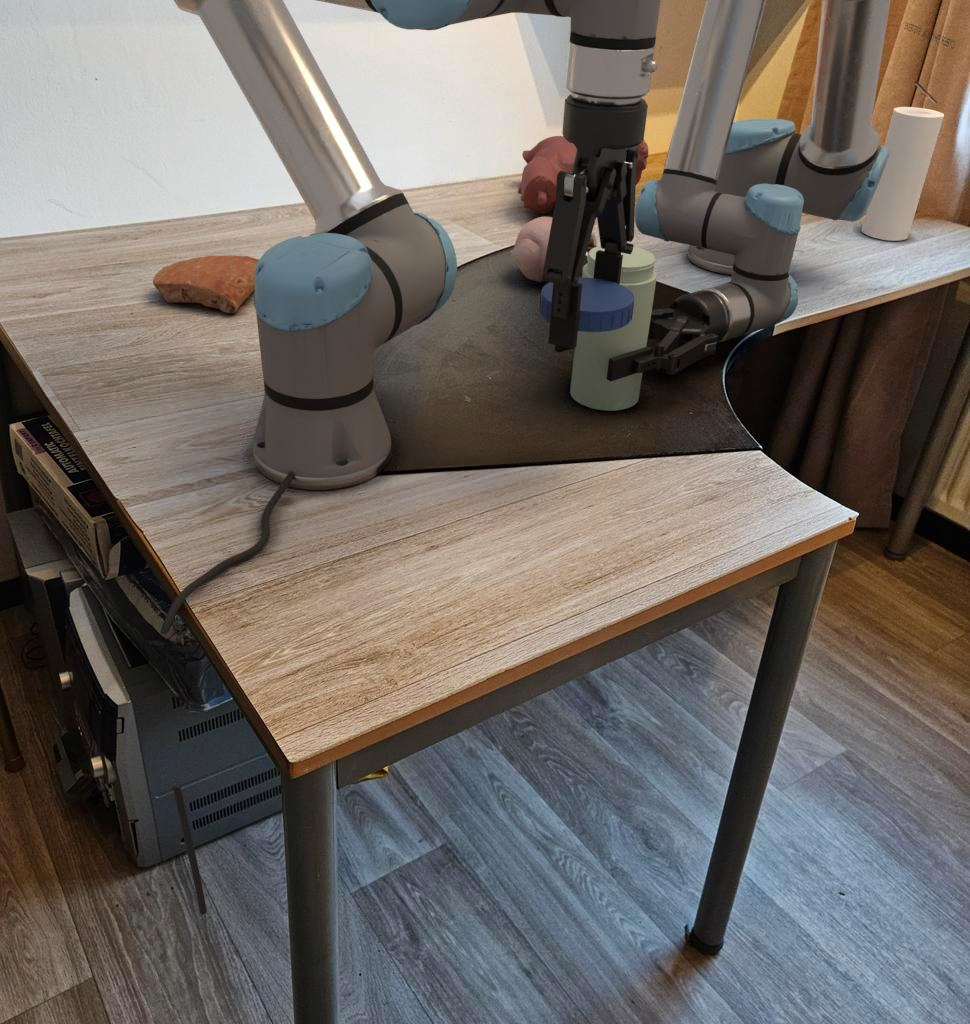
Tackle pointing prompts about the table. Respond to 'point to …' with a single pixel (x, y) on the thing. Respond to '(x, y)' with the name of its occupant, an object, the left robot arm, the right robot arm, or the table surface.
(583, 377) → the jar
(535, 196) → the reddish brown figurine
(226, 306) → the ceramic shard
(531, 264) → the toy
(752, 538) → the table surface
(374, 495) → the table surface
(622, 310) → the lid
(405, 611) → the table surface
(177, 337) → the table surface
